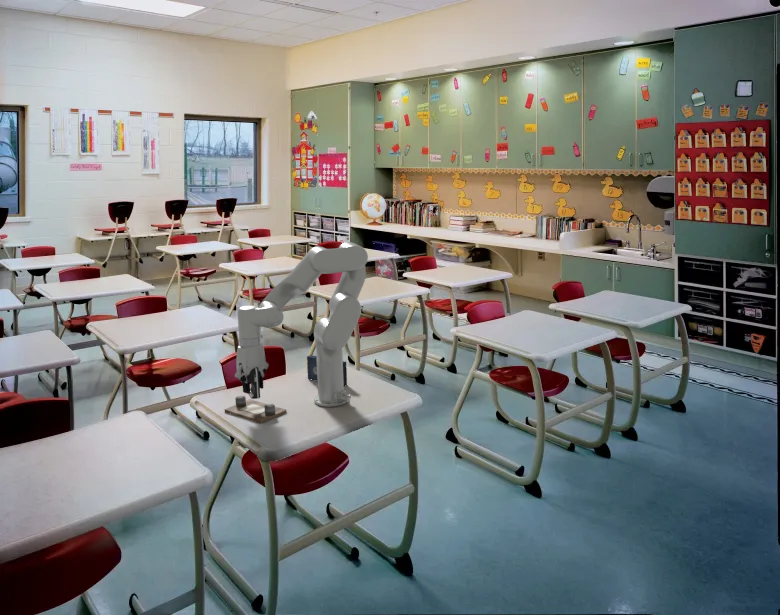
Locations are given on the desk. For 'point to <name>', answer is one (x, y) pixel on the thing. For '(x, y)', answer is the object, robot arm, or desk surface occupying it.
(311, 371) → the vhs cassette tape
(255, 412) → the collar board
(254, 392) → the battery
